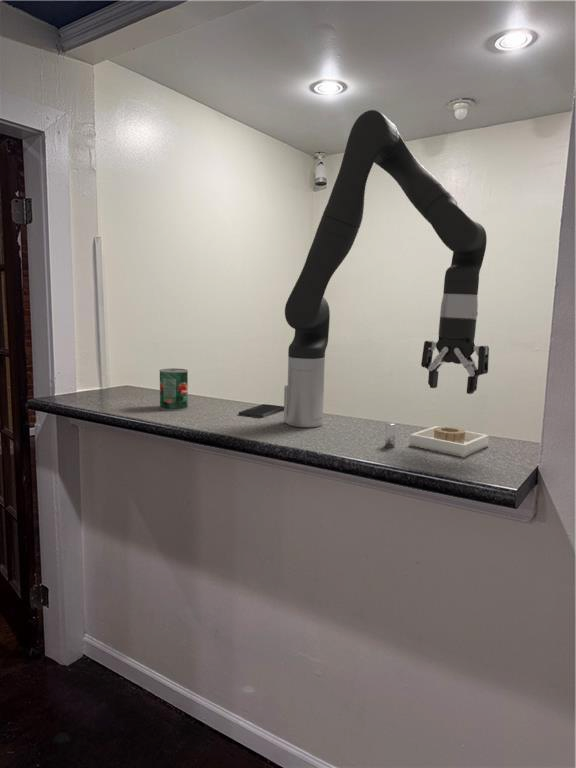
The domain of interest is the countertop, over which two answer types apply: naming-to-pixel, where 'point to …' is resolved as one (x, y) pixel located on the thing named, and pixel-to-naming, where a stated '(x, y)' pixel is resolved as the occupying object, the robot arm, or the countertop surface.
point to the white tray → (428, 441)
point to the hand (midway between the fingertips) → (451, 390)
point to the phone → (262, 411)
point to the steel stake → (390, 435)
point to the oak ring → (450, 434)
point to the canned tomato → (173, 389)
